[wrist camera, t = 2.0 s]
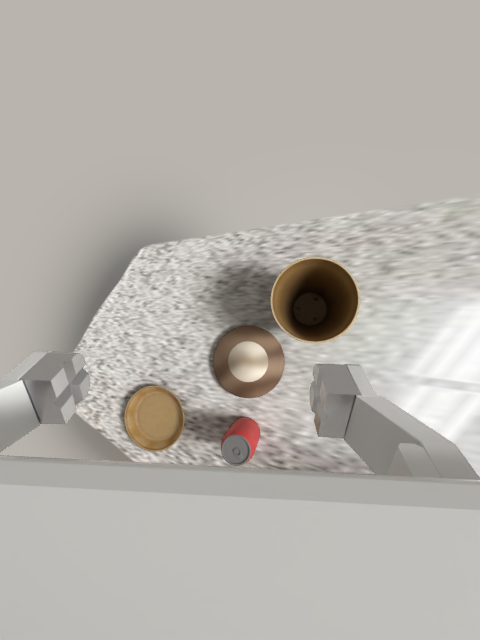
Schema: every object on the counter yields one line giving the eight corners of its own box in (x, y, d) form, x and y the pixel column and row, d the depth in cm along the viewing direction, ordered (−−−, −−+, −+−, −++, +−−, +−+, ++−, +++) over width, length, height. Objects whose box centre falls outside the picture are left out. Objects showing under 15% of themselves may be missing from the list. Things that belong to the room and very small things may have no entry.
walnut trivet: (296, 380, 65) (296, 381, 64) (231, 407, 67) (229, 409, 66) (266, 314, 68) (265, 314, 66) (204, 343, 70) (202, 343, 68)
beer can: (242, 452, 66) (231, 476, 54) (225, 427, 67) (211, 444, 55) (266, 436, 65) (260, 456, 54) (249, 410, 66) (239, 425, 55)
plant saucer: (194, 440, 68) (191, 444, 66) (137, 453, 70) (131, 457, 68) (180, 377, 70) (175, 378, 68) (124, 392, 72) (118, 394, 70)
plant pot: (279, 274, 68) (276, 253, 52) (347, 280, 65) (365, 260, 49) (271, 338, 67) (265, 337, 51) (339, 347, 64) (355, 349, 49)
